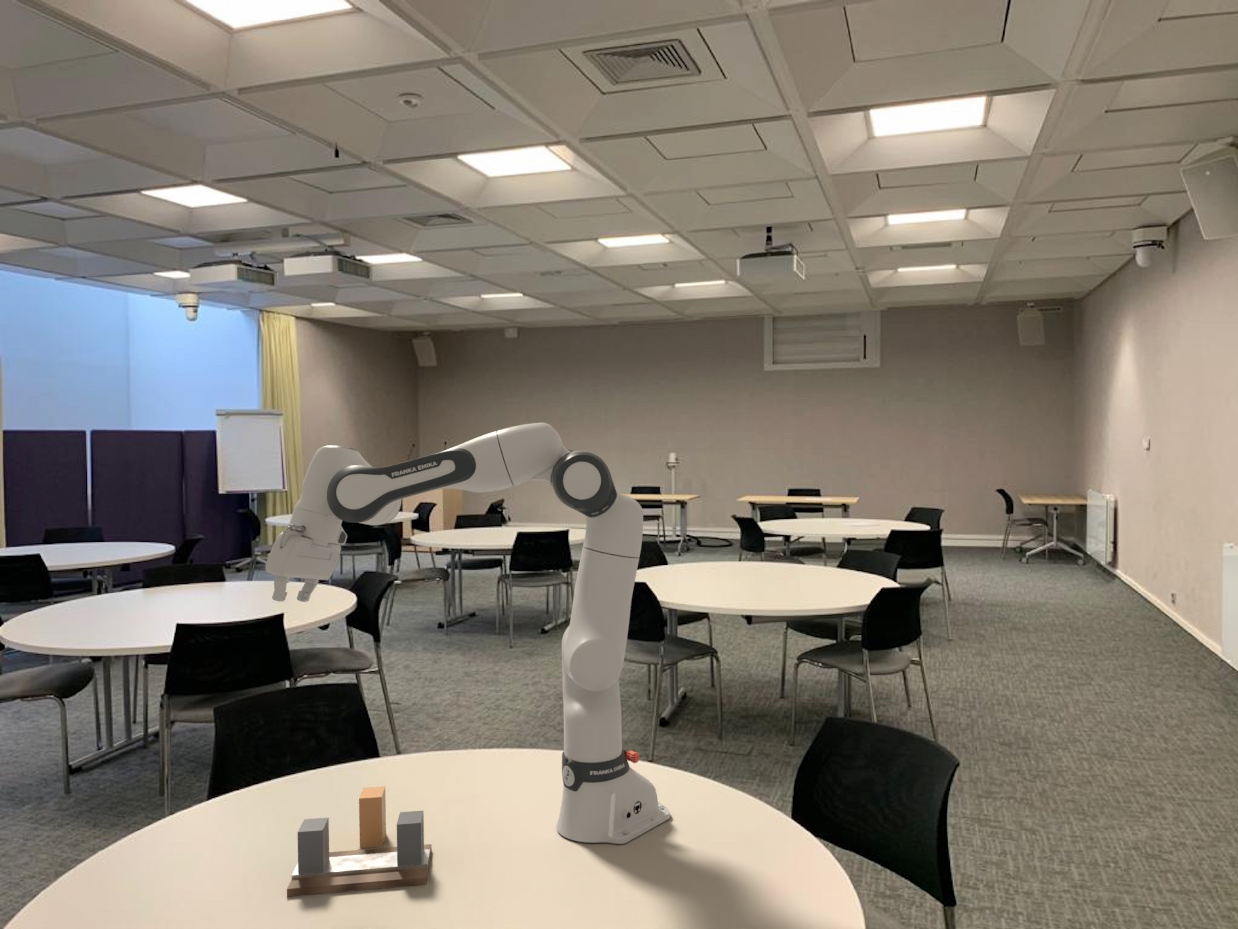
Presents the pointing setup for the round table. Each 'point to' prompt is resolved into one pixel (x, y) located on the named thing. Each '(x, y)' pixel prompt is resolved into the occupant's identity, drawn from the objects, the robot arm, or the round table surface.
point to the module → (372, 817)
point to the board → (359, 877)
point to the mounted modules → (317, 842)
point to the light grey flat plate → (363, 864)
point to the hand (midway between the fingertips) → (290, 601)
